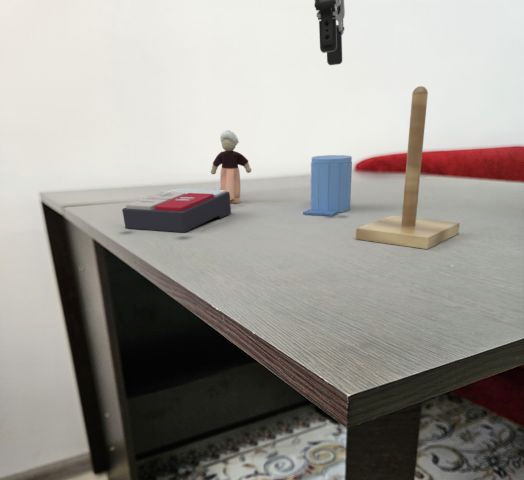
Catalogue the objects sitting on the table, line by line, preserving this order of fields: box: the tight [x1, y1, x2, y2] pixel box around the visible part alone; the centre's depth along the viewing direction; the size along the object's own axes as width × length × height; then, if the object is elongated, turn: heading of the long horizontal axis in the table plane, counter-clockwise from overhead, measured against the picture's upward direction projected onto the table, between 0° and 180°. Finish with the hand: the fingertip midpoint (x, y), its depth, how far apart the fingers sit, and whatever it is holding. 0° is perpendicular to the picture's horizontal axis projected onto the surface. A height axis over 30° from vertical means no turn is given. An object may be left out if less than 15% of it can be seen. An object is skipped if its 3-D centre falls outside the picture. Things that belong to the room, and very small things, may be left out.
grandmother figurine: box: [210, 129, 252, 204], centre depth 97 cm, size 8×4×13 cm, turn 90°
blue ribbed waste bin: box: [302, 154, 353, 217], centre depth 87 cm, size 9×7×8 cm
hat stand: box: [355, 85, 461, 250], centre depth 66 cm, size 10×10×18 cm
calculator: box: [121, 187, 232, 233], centre depth 83 cm, size 11×4×15 cm
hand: (331, 58), depth 74 cm, fingers open, 8 cm apart
